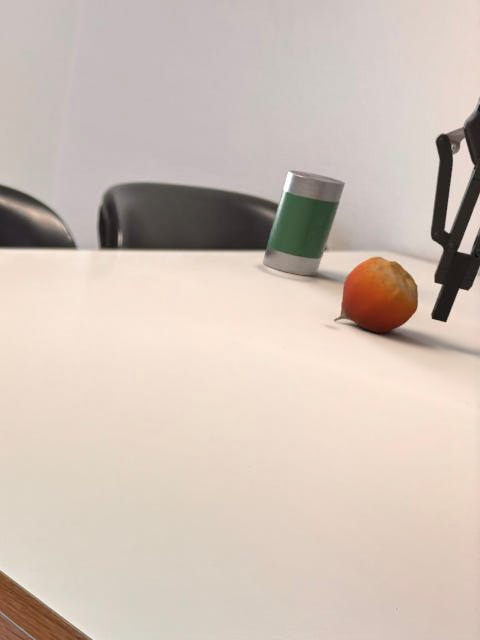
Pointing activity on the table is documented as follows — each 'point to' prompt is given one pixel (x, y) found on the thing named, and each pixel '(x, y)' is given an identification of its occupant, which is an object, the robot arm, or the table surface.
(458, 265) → the robot arm
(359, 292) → the fruit
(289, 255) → the tin can
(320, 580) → the table surface
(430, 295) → the table surface
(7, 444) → the table surface
